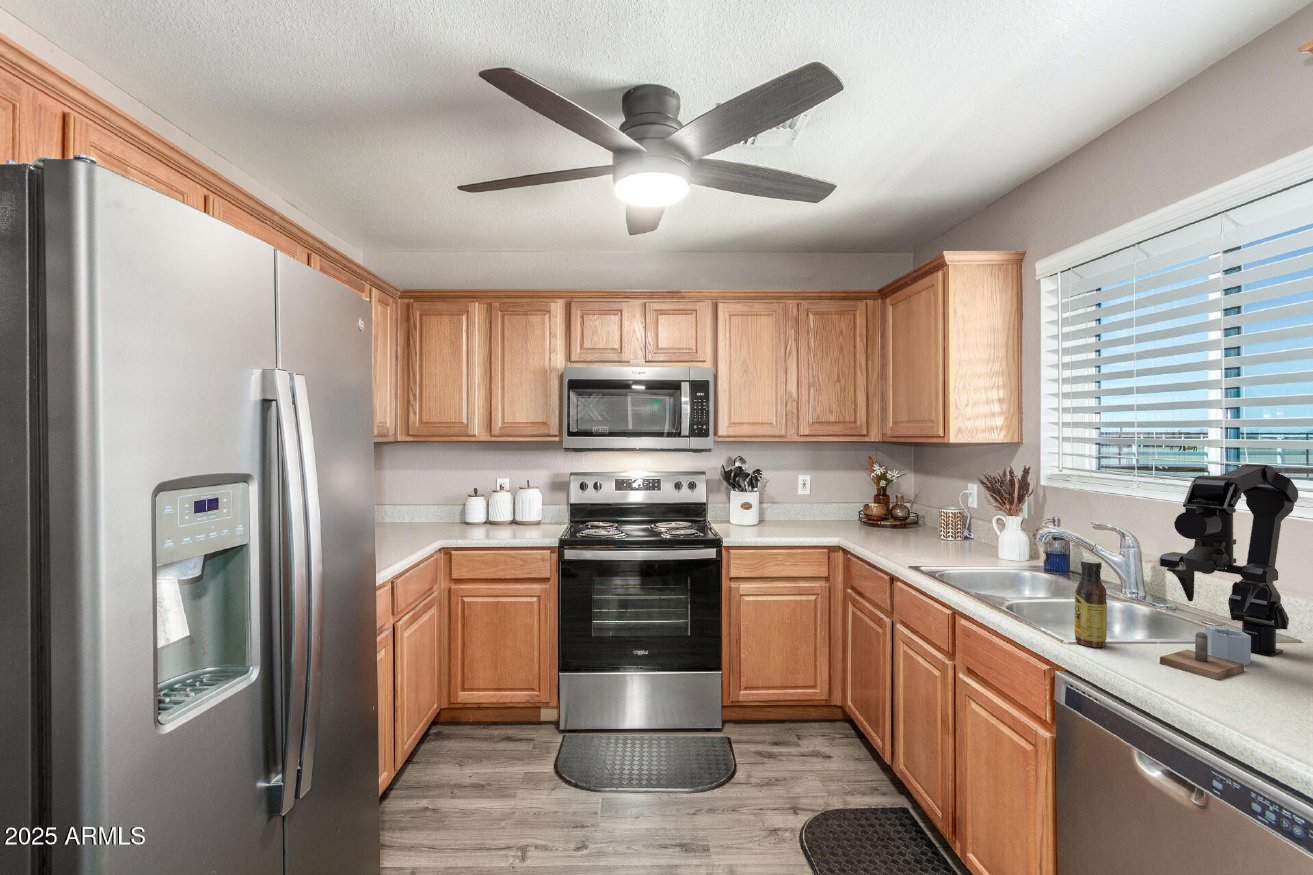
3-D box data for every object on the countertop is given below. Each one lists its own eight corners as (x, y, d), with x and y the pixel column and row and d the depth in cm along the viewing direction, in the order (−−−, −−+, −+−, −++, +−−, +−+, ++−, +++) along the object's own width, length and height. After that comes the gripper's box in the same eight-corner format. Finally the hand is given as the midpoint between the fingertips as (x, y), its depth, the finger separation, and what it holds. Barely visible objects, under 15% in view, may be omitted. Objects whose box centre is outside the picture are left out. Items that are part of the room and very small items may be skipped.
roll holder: (1187, 656, 141) (1187, 622, 141) (1243, 671, 132) (1244, 635, 132) (1159, 663, 137) (1160, 628, 136) (1216, 679, 128) (1217, 642, 127)
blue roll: (1216, 652, 144) (1216, 626, 144) (1255, 662, 138) (1255, 634, 138) (1200, 656, 141) (1200, 630, 141) (1239, 667, 135) (1239, 639, 135)
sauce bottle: (1076, 638, 153) (1076, 556, 153) (1107, 643, 149) (1108, 559, 149) (1072, 645, 148) (1073, 560, 148) (1105, 650, 144) (1106, 564, 144)
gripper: (1145, 531, 141) (1146, 601, 142) (1252, 545, 125) (1253, 623, 125) (1172, 527, 146) (1173, 594, 147) (1279, 539, 129) (1279, 615, 130)
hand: (1216, 606), depth 137 cm, fingers open, 9 cm apart
